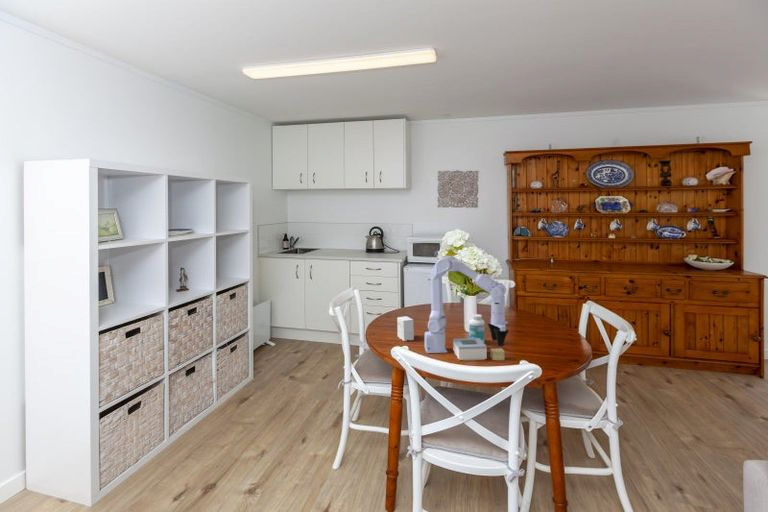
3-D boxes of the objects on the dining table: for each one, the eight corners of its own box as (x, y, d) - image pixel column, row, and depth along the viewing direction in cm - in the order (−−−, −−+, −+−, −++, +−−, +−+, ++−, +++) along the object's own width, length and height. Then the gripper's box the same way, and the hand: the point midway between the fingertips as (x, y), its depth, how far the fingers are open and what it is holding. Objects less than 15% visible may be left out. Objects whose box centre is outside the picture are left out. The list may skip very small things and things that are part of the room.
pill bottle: (465, 341, 207) (466, 314, 205) (478, 339, 209) (479, 312, 208) (474, 345, 200) (474, 317, 198) (487, 343, 202) (487, 316, 201)
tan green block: (492, 360, 180) (493, 351, 179) (490, 357, 184) (490, 348, 183) (504, 360, 180) (504, 351, 179) (501, 357, 184) (501, 348, 183)
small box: (413, 340, 209) (413, 319, 208) (403, 341, 207) (403, 320, 206) (407, 335, 217) (407, 315, 216) (397, 337, 215) (397, 317, 214)
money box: (458, 360, 180) (459, 347, 179) (453, 351, 192) (453, 338, 191) (486, 359, 180) (486, 346, 180) (479, 350, 192) (479, 337, 192)
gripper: (513, 315, 172) (512, 347, 174) (501, 307, 187) (501, 337, 188) (496, 316, 172) (495, 348, 174) (486, 308, 186) (485, 337, 188)
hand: (497, 342), depth 181 cm, fingers open, 7 cm apart
